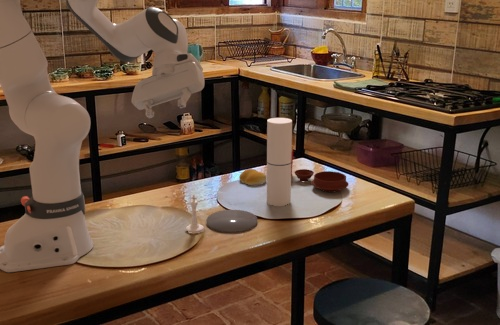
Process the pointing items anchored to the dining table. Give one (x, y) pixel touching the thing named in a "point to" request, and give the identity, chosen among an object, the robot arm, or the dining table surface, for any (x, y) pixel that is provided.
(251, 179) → the bread roll
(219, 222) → the charcoal plate
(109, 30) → the robot arm
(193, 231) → the chess piece
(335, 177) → the pottery
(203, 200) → the dining table surface
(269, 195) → the cylindrical container
